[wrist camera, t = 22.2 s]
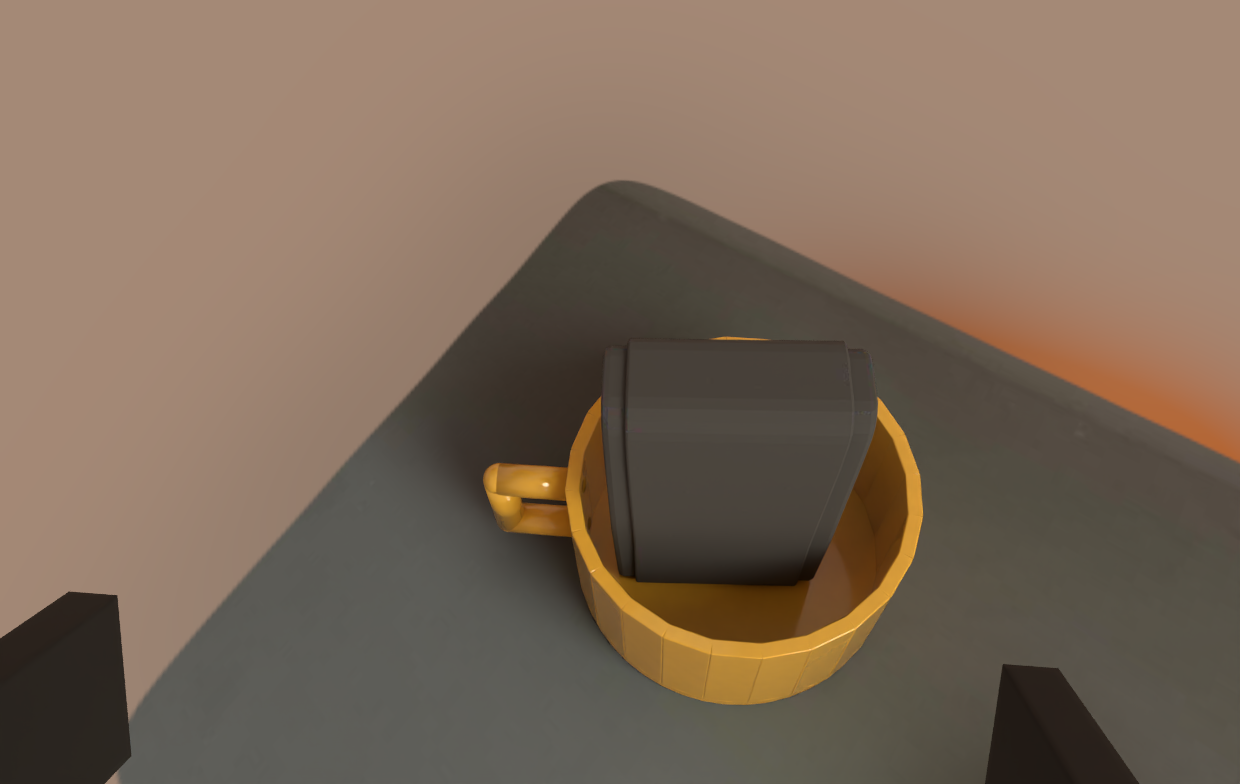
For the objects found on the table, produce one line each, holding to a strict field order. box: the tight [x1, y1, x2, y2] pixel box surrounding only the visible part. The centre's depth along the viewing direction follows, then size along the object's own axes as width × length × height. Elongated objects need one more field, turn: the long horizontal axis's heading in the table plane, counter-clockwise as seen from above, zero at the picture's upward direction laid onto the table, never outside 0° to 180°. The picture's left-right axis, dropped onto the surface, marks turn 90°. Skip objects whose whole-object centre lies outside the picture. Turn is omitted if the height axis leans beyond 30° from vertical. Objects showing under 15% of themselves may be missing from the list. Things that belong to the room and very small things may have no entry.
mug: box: [483, 337, 923, 705], centre depth 42 cm, size 18×14×7 cm
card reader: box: [601, 338, 878, 586], centre depth 38 cm, size 9×4×15 cm, turn 88°
